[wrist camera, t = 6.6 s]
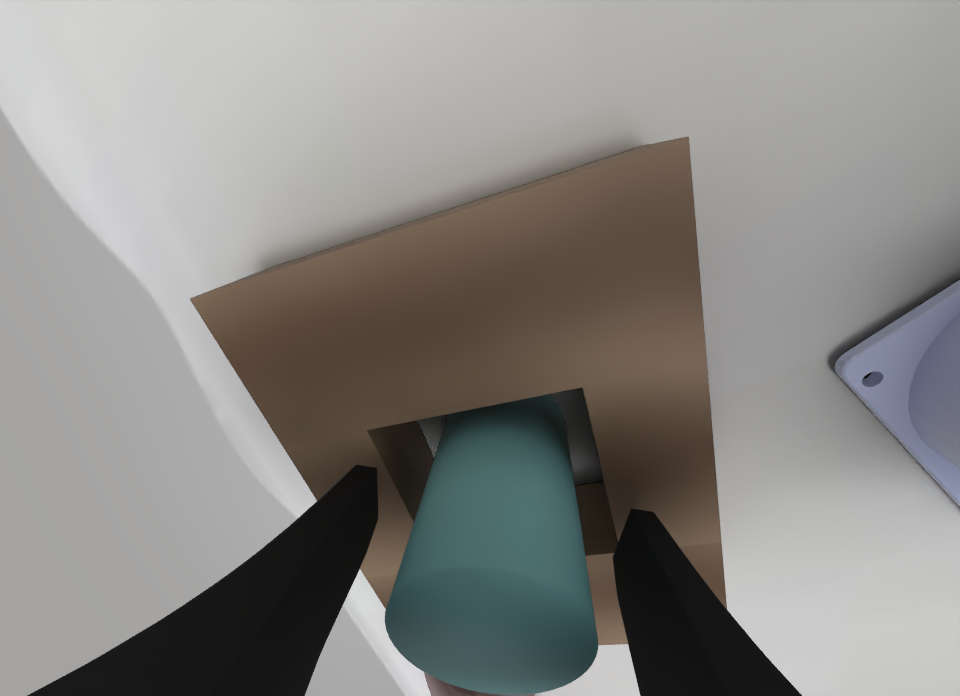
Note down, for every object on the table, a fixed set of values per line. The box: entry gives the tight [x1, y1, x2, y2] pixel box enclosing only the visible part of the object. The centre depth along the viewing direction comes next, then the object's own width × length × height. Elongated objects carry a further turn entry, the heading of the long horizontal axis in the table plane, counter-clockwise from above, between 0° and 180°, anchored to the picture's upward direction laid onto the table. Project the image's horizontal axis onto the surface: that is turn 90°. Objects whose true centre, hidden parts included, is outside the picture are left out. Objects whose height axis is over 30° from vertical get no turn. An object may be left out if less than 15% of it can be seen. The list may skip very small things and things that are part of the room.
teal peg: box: [385, 394, 598, 695], centre depth 11 cm, size 4×4×7 cm
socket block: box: [190, 137, 727, 645], centre depth 13 cm, size 16×12×3 cm
